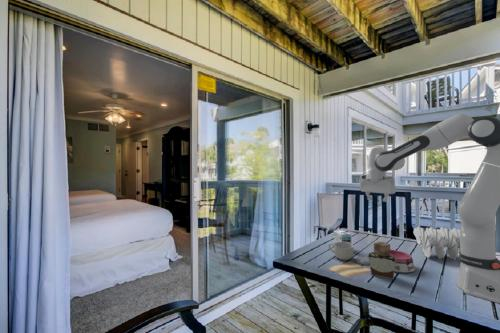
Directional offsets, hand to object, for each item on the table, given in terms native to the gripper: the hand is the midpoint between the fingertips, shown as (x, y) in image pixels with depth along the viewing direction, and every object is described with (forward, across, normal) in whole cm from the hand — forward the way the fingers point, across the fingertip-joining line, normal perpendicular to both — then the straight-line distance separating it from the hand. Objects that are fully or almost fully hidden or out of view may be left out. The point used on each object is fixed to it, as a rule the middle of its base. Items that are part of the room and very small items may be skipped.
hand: (377, 200), depth 139 cm
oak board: (+33, -2, +25) cm, 41 cm away
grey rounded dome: (+33, +1, +10) cm, 35 cm away
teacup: (+33, +12, +16) cm, 39 cm away
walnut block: (+23, -14, +16) cm, 32 cm away
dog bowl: (+34, -10, +1) cm, 35 cm away
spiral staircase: (+33, -16, -34) cm, 50 cm away
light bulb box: (+33, +23, +3) cm, 41 cm away
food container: (+33, -14, +16) cm, 40 cm away
